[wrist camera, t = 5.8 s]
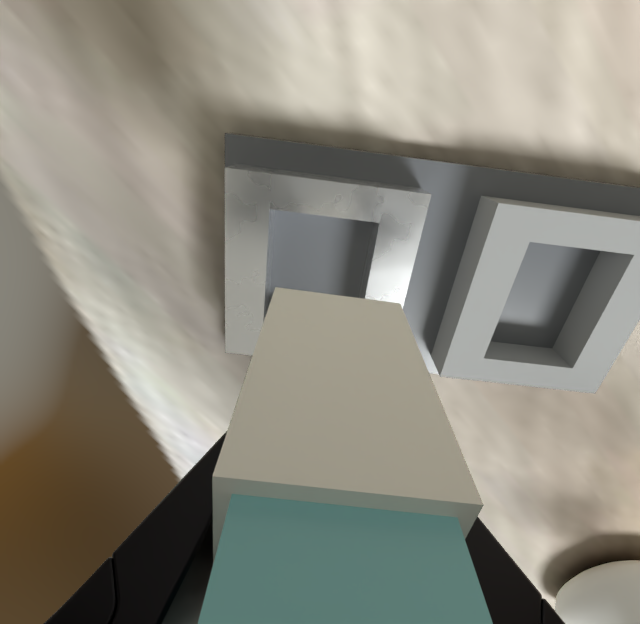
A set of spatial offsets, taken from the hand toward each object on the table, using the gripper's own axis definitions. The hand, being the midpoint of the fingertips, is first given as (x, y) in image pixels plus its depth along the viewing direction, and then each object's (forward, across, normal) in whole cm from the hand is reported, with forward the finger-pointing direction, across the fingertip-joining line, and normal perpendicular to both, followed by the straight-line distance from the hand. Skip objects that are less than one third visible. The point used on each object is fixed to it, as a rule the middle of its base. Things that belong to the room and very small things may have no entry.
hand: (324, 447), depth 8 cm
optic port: (+13, 0, 0) cm, 13 cm away
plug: (+3, 0, 0) cm, 3 cm away
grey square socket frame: (+13, -12, 0) cm, 17 cm away
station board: (+13, -6, 0) cm, 14 cm away
